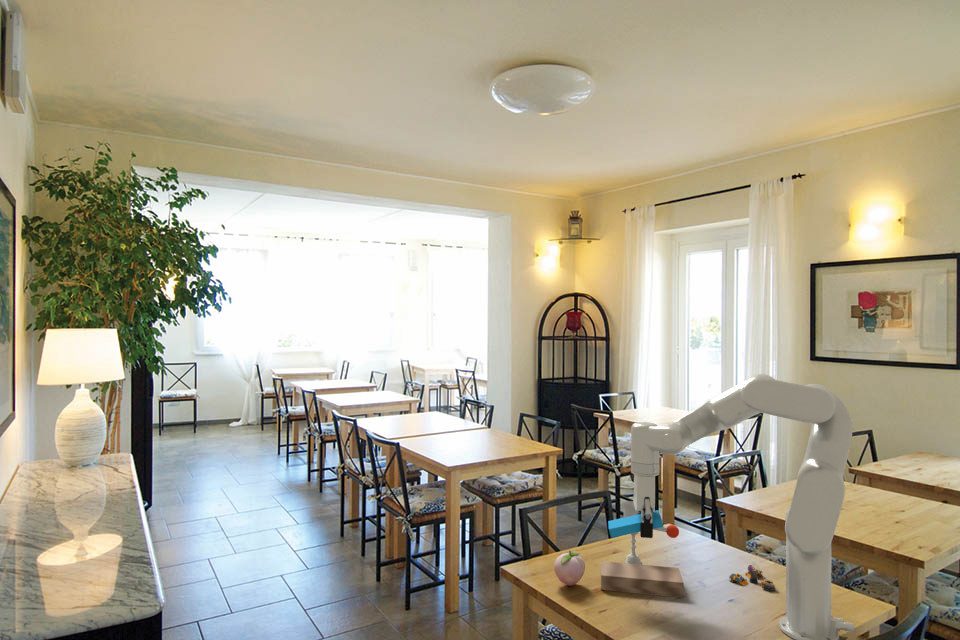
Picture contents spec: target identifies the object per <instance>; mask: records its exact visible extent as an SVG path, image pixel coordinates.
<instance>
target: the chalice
mask: <svg viewBox="0 0 960 640" xmlns="http://www.w3.org/2000/svg"><path fill="white" fill-rule="evenodd" d="M621 505H622V507H623V518H625V517H629V516H634V515H638V512H637V511H636V510H635V507H634V503H633V501H632V500H629V501H623V502H622V503H621ZM639 533H640V532H636V533H632V534H630V535H631V539H630V542H631V545H630V548H631V552H630V553H628V554H627V556H626V558H625V561H624V563H628V564H639V565H643V564H642V561H641V559H640V556H639V555H638V554H637V553H636V551H635V550H636V548H637V546H636V542H637V540H636V535H639Z"/></svg>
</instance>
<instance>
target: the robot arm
mask: <svg viewBox="0 0 960 640" xmlns="http://www.w3.org/2000/svg"><path fill="white" fill-rule="evenodd" d="M759 413H763V414H765V415H770V416H774V417H779V418H783V419H787V420H788V419H789V420H792V421H793V420H794V421H797V422H802V423H806V424H810V428H811V429H810V434H809V438H808V442H807V447H806V449H805V454H804V457H803V460H802V463H801V466H800V468H799V470H798V472H797V477H796V484H795V489H794V491H793V495H792V499H791V503H790V505H789V507H788V508H787V510H786V514H785V521H784V522H785V525H784V532H785V535H786V536H785V537H786V538H785V540H786V541H785V545H786V546H785V550H786V551H785V552H786V555H785V557H786V558H785V559H786V560H785V598H786V599H785V615H783V616H782V617H780V618H779V620H778V625H779V628H780V630H781V631H782V632H783V633H784V634H785V635H786V636H788V637H789V638H792V639H794V640H840V634H839V632H840V631H845V632H853V633H854V632H855V630H856V629H855V625H854V623H853V622H848V621H845V620H844V618H843V617H833V616H832V541H833V538H834V535H835V531H836V528H837V525H838V521H839V519H840V518H839V517H840V514H841V511H842V507H843V504H844V501H845V494H846V487H845V486H846V485H845V480H844V479H845V478H844V475H845V470H846V465H847V462H848V458H849V454H850V448H851V444H852V439H853V422H852V417H851V415H850V412H849V410H848V408H847V406H846V405H845V403H844V402H843V400H841V398H840V397H839V396H838V395H837V394H836V393H834V392H833V390H831V389H829V388H828V387H826V386H825V385H823V384H819V383H808V384H805V385H804V384H798V383H792V382H788V381H783V380H778V379H775V378H774V377H773V376H771V375H768V374H764V373H759V374H756V375H753V376H751V377H749V378H747V379H745V380H743V381H742V382H740V383H738V384H737V385H736V384H735V385H734V386H732V387H731V388H729V389H727V390H725V391H723V392H722V393H720V394H718V395H715V396H714V397H711V398H710V399H709V400H707V401H706V402H705V403H704V404H702V405H701V406H699V407H698V408H696V409H695V410H693V411H690V412H688V413H687V414H686V415H683V416H681V417H680V418H678V419H675V420H674V421H672V422H671V423H668V424H667V425H665V426H658V425H657V424H656V423H655V422H647V421H646V422H645V421H640V422H634V423H632V425H631V428H630V429H631V430H630V473H631V474H633V475H634V476H633V499H632V500H633V503H634V507H635V510H636V511H637V512H638V514H641V522H640V532H639V533H640V537H641V538H642V539H643V538H645V539H653V537H654V533H653V532H654V530H653V523H652V513H653V512H654V511H656V509H655V507H656V476H659V475H660V453H662V454H666V455H673V456H674V455H675V456H676V455H677V454H680V453H682V452H683V451H684V450H685V449H686V448H687V447H688V446H690V445H692V444H693V443H694V444H695V442H698V441H699V440H701V439H703V438H704V437H707V436H709V435H712V434H715V433H716V432H719V431H720V432H721V431H725V430H729V429H731V428H733V427H735V426H736V425H738V424H741V423H742V422H745V421H746V420H748V419H750V418H752V417H753V416H756V415H758V414H759ZM644 514H645V515H644Z"/></svg>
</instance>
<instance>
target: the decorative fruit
mask: <svg viewBox="0 0 960 640" xmlns="http://www.w3.org/2000/svg"><path fill="white" fill-rule="evenodd" d="M580 555H581V553H580V552H578V551H577V550H569V552H564V553H562V554H560V555H559V556H557V558H556V559H555V561H554V565H553V566H554V567H553V568H554V573H555V575H556V577H557V578H558V580H559V581H560V582H561V583H563V584H564V585H566V586H569V587H572V586H575V585H576V584H577V583H578V582H579V581H581V579H582V577H583V576H584V573H585V571H586V563H585V561H584V560H583V558H582V557H581V556H580Z"/></svg>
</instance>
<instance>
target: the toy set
mask: <svg viewBox="0 0 960 640" xmlns="http://www.w3.org/2000/svg"><path fill="white" fill-rule="evenodd" d="M745 576H747V577H748V579H749V581H748V580H747V578H744V576H743V575H742V574H739V573H731V574H730V575H729V579H730V580H729V583H736V585H739V586H740V585H742V586H746V585H749V584H753V585H757V584H758V582H759V581H758V579H763V578H764V575H763V571H762V570H759V569H756V568H755V567H754V566H753V565H752V564H749V565H748V566H747V572H745ZM760 584H761V588H762V590H763V591H770V592H775V593H776V584H775V583H774V582H773V581H772V580H767V579H764V581H763V580H762V581H761V582H760Z"/></svg>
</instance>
